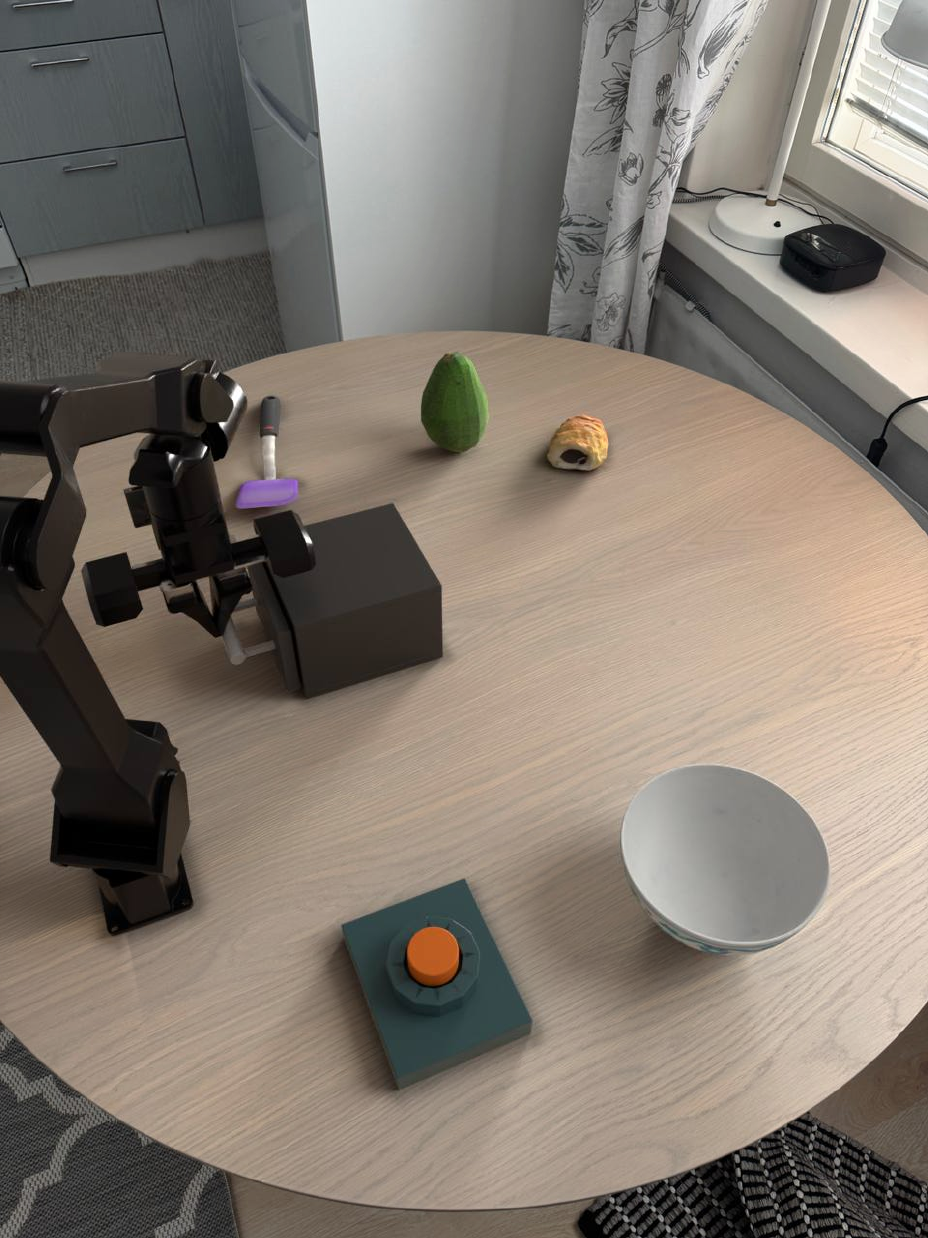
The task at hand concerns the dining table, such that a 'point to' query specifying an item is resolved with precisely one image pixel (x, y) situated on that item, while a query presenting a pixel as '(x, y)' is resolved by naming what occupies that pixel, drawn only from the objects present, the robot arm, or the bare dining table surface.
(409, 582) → the box
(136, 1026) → the dining table surface
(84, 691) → the robot arm
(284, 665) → the drawer
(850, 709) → the dining table surface
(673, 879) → the chinaware
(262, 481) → the spatula
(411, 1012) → the block
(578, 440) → the pastry
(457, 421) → the avocado
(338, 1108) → the dining table surface
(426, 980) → the button
